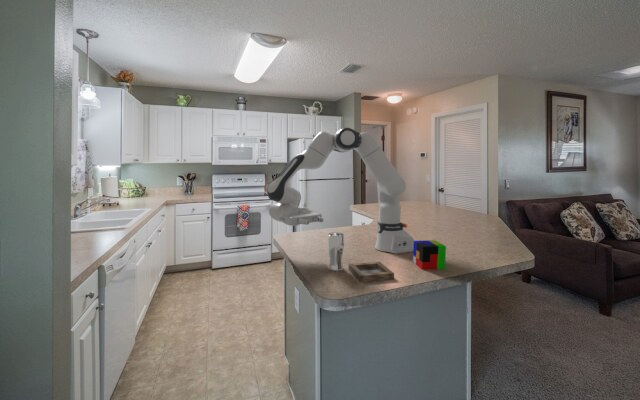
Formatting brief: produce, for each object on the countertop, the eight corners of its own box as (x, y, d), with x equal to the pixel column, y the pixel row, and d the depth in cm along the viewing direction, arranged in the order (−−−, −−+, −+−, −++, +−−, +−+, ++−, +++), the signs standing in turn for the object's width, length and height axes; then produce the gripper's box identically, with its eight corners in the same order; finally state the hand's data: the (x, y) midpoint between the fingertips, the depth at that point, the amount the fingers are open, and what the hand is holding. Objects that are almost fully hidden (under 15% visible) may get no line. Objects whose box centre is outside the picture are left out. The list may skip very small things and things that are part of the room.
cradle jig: (379, 267, 131) (379, 261, 131) (394, 279, 118) (394, 273, 118) (348, 269, 129) (348, 263, 128) (359, 282, 115) (359, 275, 115)
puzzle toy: (412, 262, 139) (413, 240, 137) (434, 261, 139) (435, 240, 138) (421, 269, 129) (423, 246, 128) (444, 269, 130) (446, 246, 128)
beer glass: (333, 264, 134) (333, 231, 132) (347, 267, 130) (347, 233, 129) (324, 269, 129) (324, 234, 127) (338, 272, 125) (339, 236, 123)
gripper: (277, 211, 137) (298, 216, 128) (309, 208, 152) (330, 212, 143) (276, 225, 138) (297, 231, 129) (308, 220, 153) (329, 225, 144)
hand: (315, 221), depth 136 cm, fingers open, 8 cm apart
